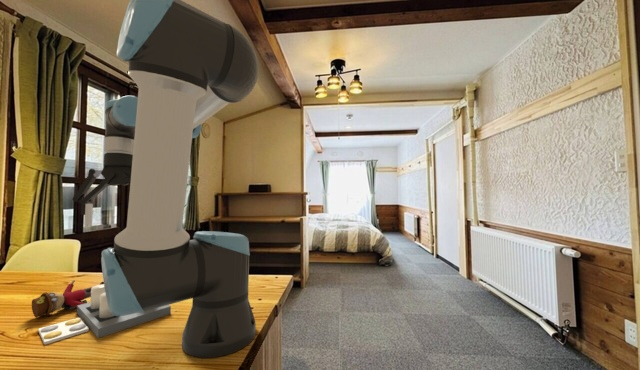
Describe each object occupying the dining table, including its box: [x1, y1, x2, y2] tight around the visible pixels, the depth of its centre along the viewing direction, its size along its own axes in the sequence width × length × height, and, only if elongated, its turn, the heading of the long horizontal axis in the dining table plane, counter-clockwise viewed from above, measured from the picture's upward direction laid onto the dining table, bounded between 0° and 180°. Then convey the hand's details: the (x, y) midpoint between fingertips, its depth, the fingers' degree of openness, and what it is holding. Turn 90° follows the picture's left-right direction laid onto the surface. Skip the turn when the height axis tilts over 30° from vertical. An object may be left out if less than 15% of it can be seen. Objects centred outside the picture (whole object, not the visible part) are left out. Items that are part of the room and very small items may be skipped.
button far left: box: [90, 284, 105, 309], centre depth 68 cm, size 4×4×5 cm
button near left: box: [99, 293, 115, 318], centre depth 63 cm, size 4×4×5 cm
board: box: [76, 301, 172, 339], centre depth 69 cm, size 20×15×2 cm
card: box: [38, 317, 90, 346], centre depth 60 cm, size 9×7×1 cm
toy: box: [31, 280, 104, 318], centre depth 72 cm, size 11×7×15 cm
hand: (117, 225), depth 76 cm, fingers open, 13 cm apart
